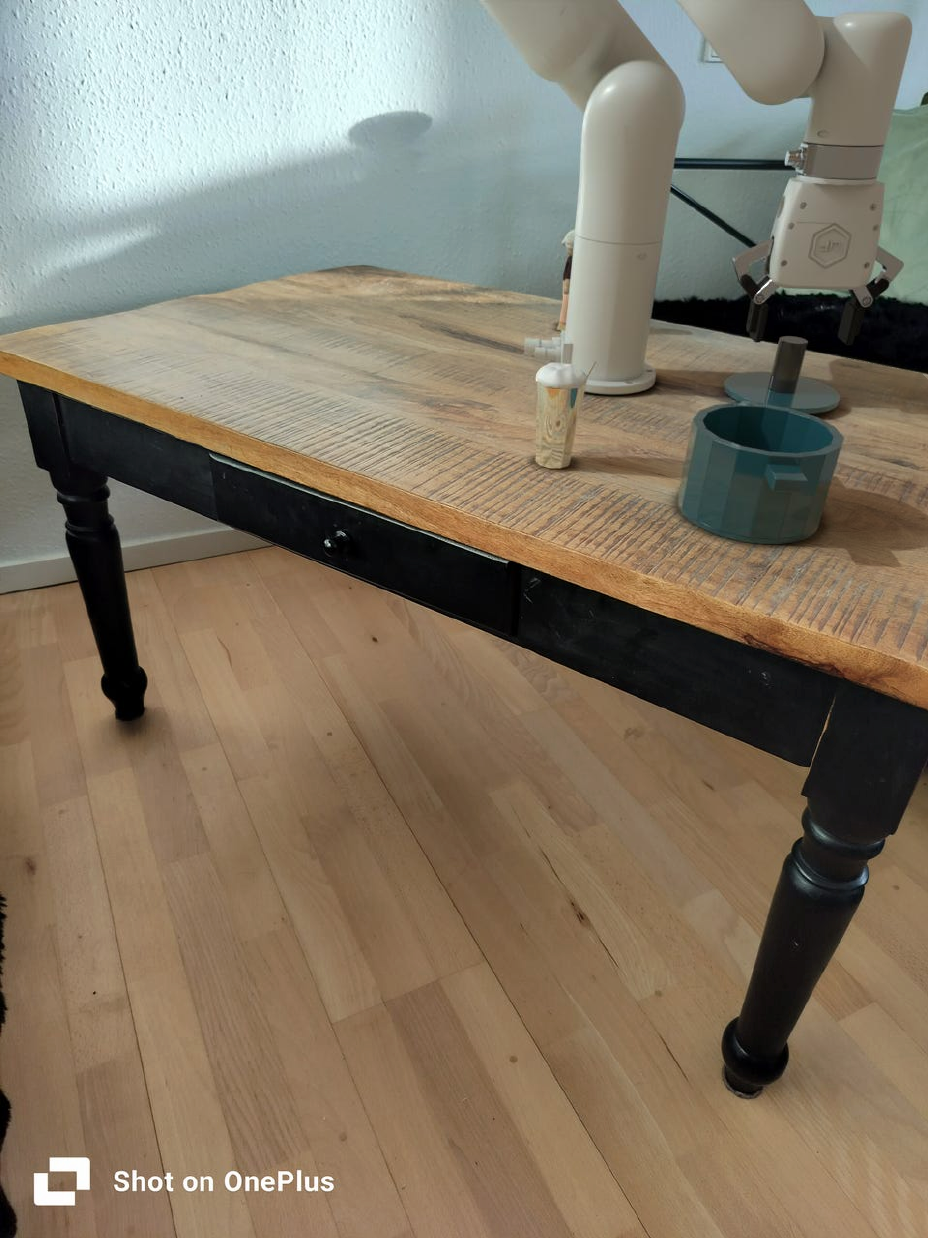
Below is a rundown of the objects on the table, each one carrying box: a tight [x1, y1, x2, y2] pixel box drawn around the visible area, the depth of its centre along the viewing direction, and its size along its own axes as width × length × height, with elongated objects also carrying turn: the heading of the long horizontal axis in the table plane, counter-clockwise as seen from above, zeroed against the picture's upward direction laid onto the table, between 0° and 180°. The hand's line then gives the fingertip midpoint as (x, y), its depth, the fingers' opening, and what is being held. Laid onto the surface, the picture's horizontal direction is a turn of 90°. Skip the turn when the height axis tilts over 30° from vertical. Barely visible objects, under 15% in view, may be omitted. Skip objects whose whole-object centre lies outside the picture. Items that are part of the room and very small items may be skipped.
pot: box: [677, 399, 845, 545], centre depth 72 cm, size 12×17×8 cm
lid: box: [723, 335, 841, 415], centre depth 97 cm, size 13×13×7 cm
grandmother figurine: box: [556, 228, 575, 332], centre depth 117 cm, size 8×4×13 cm, turn 179°
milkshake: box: [535, 362, 596, 470], centre depth 78 cm, size 4×5×10 cm
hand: (799, 340), depth 95 cm, fingers open, 9 cm apart
